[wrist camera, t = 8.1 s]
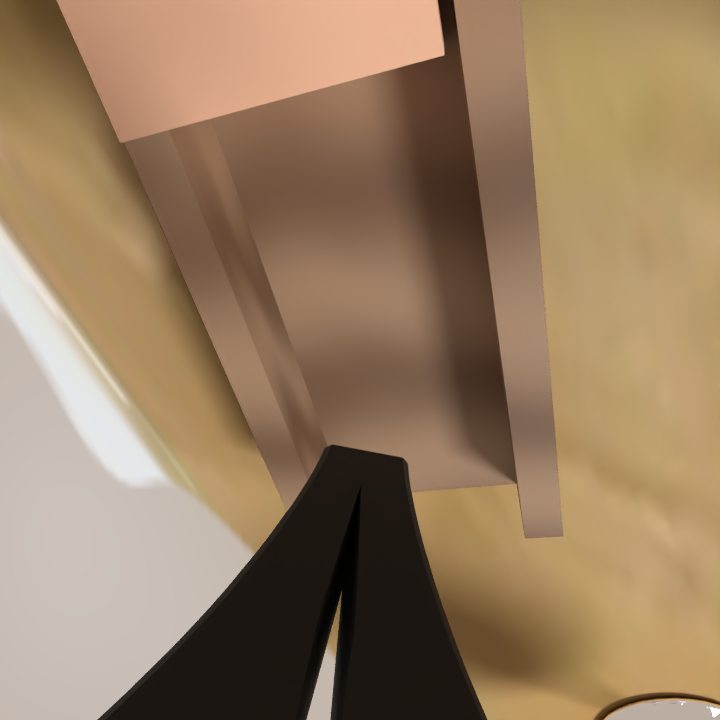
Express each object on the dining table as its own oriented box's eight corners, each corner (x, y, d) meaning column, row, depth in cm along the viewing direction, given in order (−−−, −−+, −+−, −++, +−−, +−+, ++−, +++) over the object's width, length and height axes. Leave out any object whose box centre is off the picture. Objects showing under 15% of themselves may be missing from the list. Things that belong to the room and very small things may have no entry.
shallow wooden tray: (546, 462, 20) (563, 536, 18) (322, 481, 23) (304, 550, 20) (459, -455, 10) (466, -662, 7) (44, -251, 12) (-89, -339, 9)
